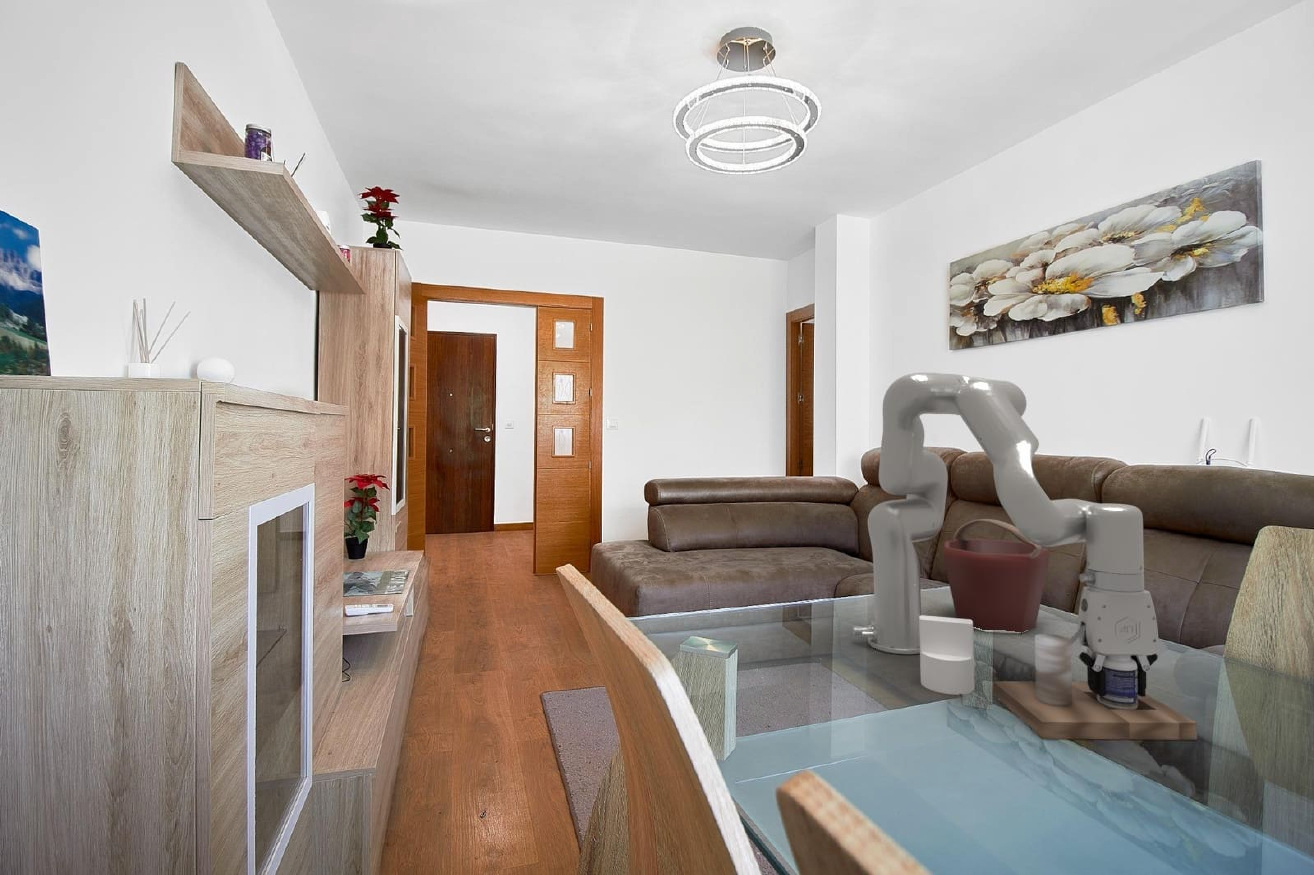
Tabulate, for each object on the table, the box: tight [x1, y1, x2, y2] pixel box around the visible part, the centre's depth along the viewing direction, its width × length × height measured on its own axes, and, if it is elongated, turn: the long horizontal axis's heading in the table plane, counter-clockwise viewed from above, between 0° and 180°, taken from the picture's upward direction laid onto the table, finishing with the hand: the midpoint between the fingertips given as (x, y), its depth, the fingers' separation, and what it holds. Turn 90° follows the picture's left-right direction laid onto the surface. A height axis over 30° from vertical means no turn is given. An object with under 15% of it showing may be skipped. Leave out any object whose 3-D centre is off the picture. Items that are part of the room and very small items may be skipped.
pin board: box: [992, 633, 1198, 741], centre depth 103 cm, size 22×16×12 cm
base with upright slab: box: [919, 614, 975, 696], centre depth 117 cm, size 9×9×12 cm
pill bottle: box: [1097, 655, 1138, 710], centre depth 103 cm, size 5×5×10 cm
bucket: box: [943, 518, 1050, 633], centre depth 153 cm, size 24×22×25 cm
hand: (1116, 692), depth 103 cm, fingers closed on pill bottle, 5 cm apart
